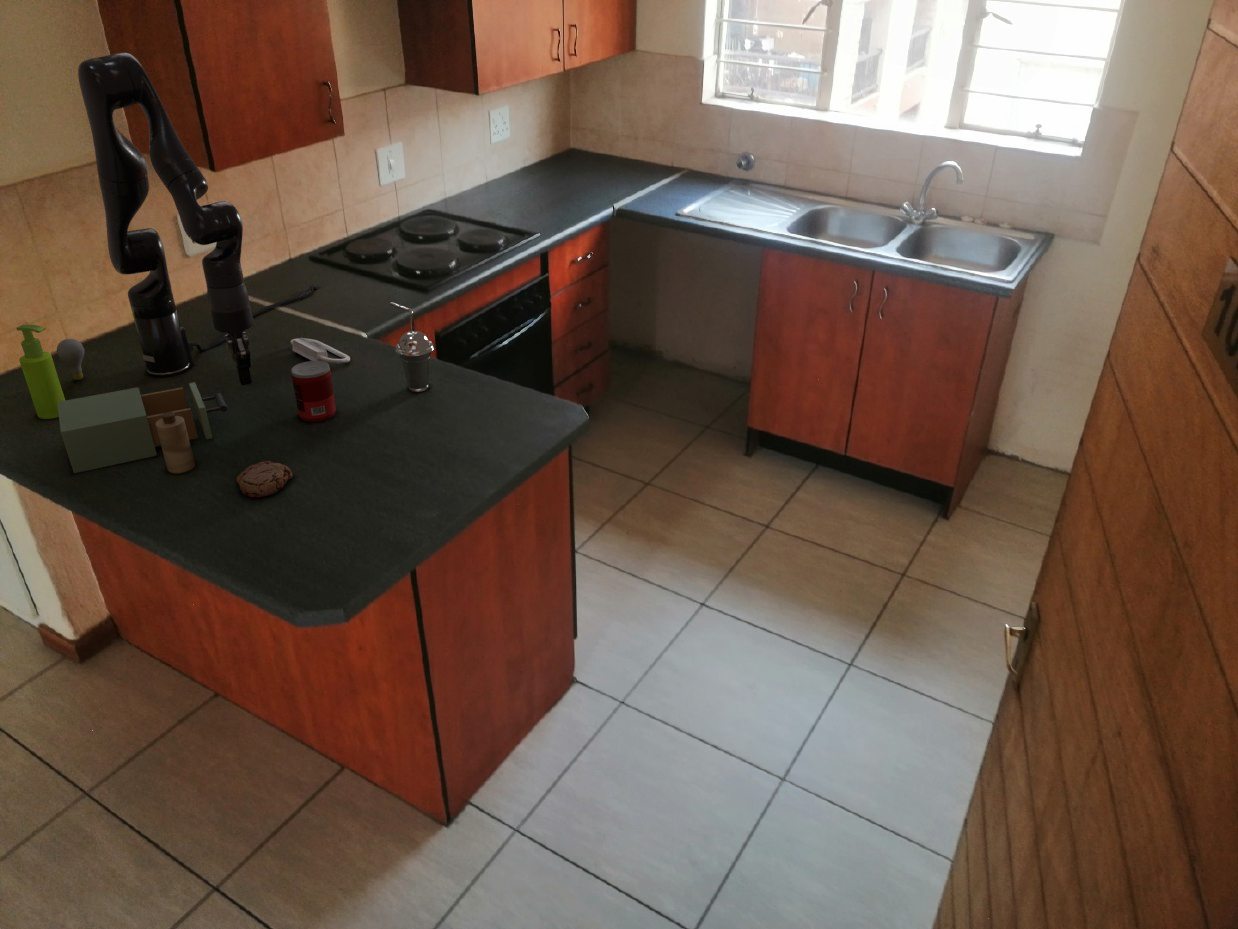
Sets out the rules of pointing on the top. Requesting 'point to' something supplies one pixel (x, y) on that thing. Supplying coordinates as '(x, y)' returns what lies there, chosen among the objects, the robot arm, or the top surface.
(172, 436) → the roller
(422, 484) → the top surface
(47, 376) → the soap dispenser
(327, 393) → the canned food
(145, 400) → the drawer
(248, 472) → the cookie
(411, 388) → the cup with straw
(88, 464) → the cabinet
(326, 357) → the white long looped piece
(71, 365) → the light bulb
